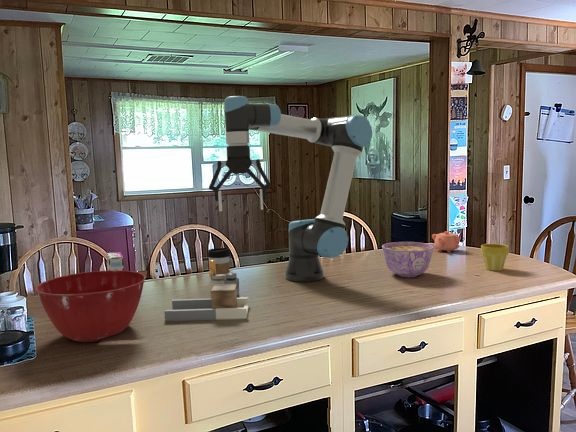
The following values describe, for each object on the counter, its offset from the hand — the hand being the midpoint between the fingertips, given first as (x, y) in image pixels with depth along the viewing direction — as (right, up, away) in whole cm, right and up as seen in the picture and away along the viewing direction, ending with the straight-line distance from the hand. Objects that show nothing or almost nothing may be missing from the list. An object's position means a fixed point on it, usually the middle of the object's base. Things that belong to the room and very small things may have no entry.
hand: (241, 210), depth 167 cm
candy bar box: (-43, -32, +7) cm, 54 cm away
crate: (-4, -32, -12) cm, 34 cm away
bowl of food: (+63, -26, +34) cm, 76 cm away
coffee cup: (-10, -29, +21) cm, 37 cm away
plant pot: (+100, -24, +40) cm, 110 cm away
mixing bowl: (-39, -35, -24) cm, 58 cm away
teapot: (+92, -19, +80) cm, 123 cm away
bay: (-9, -33, -12) cm, 36 cm away
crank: (-6, -23, +1) cm, 24 cm away
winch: (-3, -31, +2) cm, 31 cm away
